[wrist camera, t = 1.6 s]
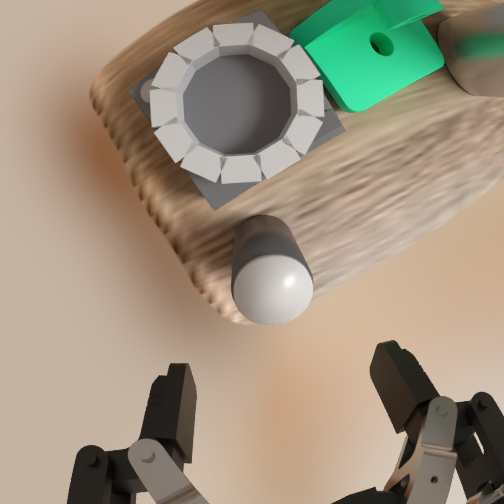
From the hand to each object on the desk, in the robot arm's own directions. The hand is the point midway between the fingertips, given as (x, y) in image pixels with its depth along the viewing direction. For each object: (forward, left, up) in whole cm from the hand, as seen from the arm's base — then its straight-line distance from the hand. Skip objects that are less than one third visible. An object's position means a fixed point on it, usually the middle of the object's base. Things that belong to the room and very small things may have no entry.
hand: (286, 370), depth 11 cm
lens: (0, 0, -14) cm, 14 cm away
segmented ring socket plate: (+1, -11, -14) cm, 18 cm away
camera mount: (-10, -17, -14) cm, 24 cm away
